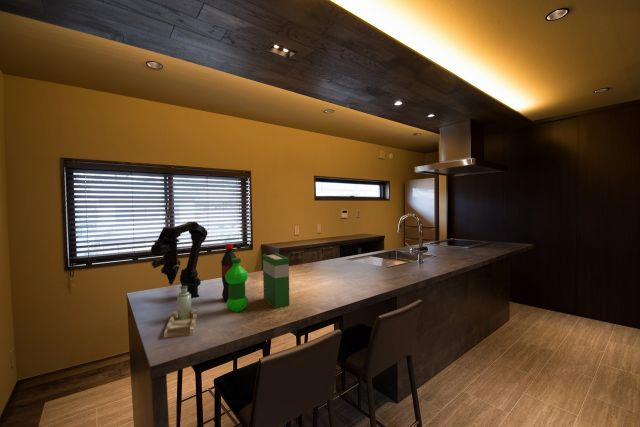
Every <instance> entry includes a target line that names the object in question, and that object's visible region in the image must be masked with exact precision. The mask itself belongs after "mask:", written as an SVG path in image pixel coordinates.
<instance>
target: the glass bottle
mask: <svg viewBox="0 0 640 427" xmlns="http://www.w3.org/2000/svg"><path fill="white" fill-rule="evenodd" d="M179 288H180V292H179V293H178V294H177V299H176V300H177V315H178V319H181V320H182V319H188V318H190V317H191V316H192V313H193V312H192V298H191V294H190V293H189V292H187V288H188V286H182V285H180V286H179Z"/></svg>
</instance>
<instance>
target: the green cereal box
mask: <svg viewBox="0 0 640 427" xmlns="http://www.w3.org/2000/svg"><path fill="white" fill-rule="evenodd" d="M262 272H263V273H262V276H263V278H262V279H263V280H262V281H263V299H264V300H265V301H266V302H267V303H268V302H269V303H268V304H269V305H271V306H272V307H273V308H274V307H275V308H277V309H281V308H280V307H282V308H286V307H290V306H289V305H290V258H289V257H287V256H285V255H281V254H279V253H276V252H274V253H273V254H269V255H268V254H265V253H264V254H262ZM285 306H286V307H285ZM275 308H274V309H275Z"/></svg>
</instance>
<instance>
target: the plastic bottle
mask: <svg viewBox="0 0 640 427" xmlns="http://www.w3.org/2000/svg"><path fill="white" fill-rule="evenodd" d="M232 263H233V266H232V267H231V268H230V269H229V270H228V271H227V272H226V275H225V280H226V282H227V283H228V296H229V298H228V300H227V301H226V306H227V308H228V309H229V310H230V311H232V312H236V313H240V312H242V311H243V310H244V309H245V308H246V307H247V305H248V303H249V302H248V298H247V295H246V281H247V279H248V275H249V274H248V271H247V269H245V268H244V267H243V266H241V263H242V260H241V257H236V258H233V259H232ZM239 311H240V312H239Z"/></svg>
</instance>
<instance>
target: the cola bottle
mask: <svg viewBox="0 0 640 427" xmlns="http://www.w3.org/2000/svg"><path fill="white" fill-rule="evenodd" d="M224 246H225V247H224V248H225V253H224V255H223V256H222V259H221V260H220V263H221V264H220V265H221V281H222V285H223V289H222V293H221V296H222V299H223V300H224V301H225V302H227V300H228V298H229V296H228V283H227V282H226V280H225V275H226V272H227V271H228V270H229V269H230V268H231V267H232V266H233V263H232V259H233V258H237V256H236V254H235V253H234V243H226V244H225V245H224Z"/></svg>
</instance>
